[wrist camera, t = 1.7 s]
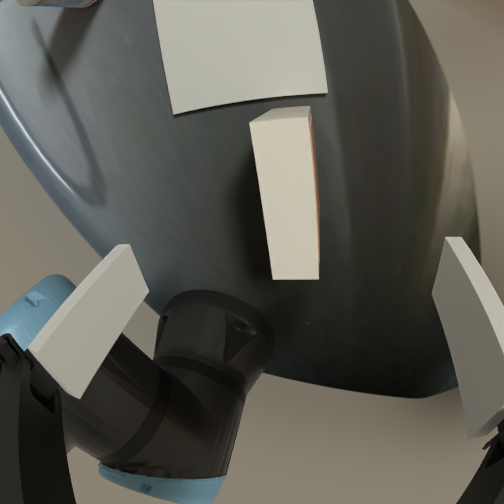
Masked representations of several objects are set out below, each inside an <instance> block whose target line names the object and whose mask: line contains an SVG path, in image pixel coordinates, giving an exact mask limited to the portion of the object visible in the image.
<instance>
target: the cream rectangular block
mask: <svg viewBox="0 0 504 504" xmlns="http://www.w3.org/2000/svg"><path fill="white" fill-rule="evenodd" d="M249 124H250V130H251V136H252V143H253V149H254V155H255V162H256V168H257V174H258V181H259V187H260V194H261V201H262V207H263V214H264V221H265V228H266V234H267V241H268V248H269V255H270V262H271V269H272V277H273V280H280V279H319V260H320V207H319V191H318V177H317V164H316V152H315V142H314V132H313V122H312V116H311V109H310V106H299V107H287V108H276V109H272V110H270V111H268V112H267V113H265V114H263V115H261V116H260V117H258V118H256V119H255V120H253V121H251V122H250V123H249Z"/></svg>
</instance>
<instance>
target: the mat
mask: <svg viewBox="0 0 504 504" xmlns="http://www.w3.org/2000/svg"><path fill="white" fill-rule="evenodd" d="M153 3H154V10H155V16H156V23H157V29H158V35H159V41H160V47H161V52H162V58H163V63H164V69H165V74H166V79H167V85H168V90H169V95H170V100H171V105H172V109H173V114H178V113H182V112H187V111H191V110H196V109H201V108H206V107H211V106H216V105H222V104H227V103H233V102H240V101H246V100H254V99H261V98H270V97H279V96H289V95H302V94H318V93H328V91H327V83H326V75H325V68H324V61H323V55H322V48H321V42H320V36H319V31H318V25H317V20H316V15H315V10H314V5H313V0H153Z"/></svg>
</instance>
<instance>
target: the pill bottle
mask: <svg viewBox="0 0 504 504" xmlns="http://www.w3.org/2000/svg"><path fill="white" fill-rule="evenodd" d="M16 1H17V3H18V4H20V5H22V6H52V7H69V8H85V7H88V6H90V5H91V4H93V3H94V2H96V1H97V0H16Z"/></svg>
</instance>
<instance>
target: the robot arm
mask: <svg viewBox="0 0 504 504" xmlns="http://www.w3.org/2000/svg"><path fill="white" fill-rule="evenodd" d="M148 292H149V290H148V287H147V285H146V283H145V280H144V278H143V276H142V273H141V271H140V269H139V266H138V264H137V261H136V259H135V256H134V254H133V251H132V249H131V246H130V244H120V245H117V246H116V247H115V248H114V249H113V250H112V251H111V252H110V253H109V254H108V255H107V256H106V257H105V258H104V259H103V260H102V261H101V262H100V263H99V264H98V265H97V266H96V267H95V268H94V269H93V270H92V272H91V273H90V274H89V275H88V276H87V277H86V278H85V279H84V280H83V282H81V283H80V285H79V286H78V287H76V286H75V285H74V284H73V283H72V282H71V281H70V280H69V279H68V278H66V277H65V276H62V275H59V274H53V275H49V276H47V277H45V278H43V279H42V280H41V281H39V282H38V283H37V284H36V285H34V286H33V287H32V288H31V289H29V290H28V291H27V292H26V293H25V294H23V295H22V296H21V297H20V298H19V299H18V300H16V301H15V302H14V303H13V304H12V305H11V306H10V307H9V308H8V309H6V310H5V311H4V312H3V313H2V314H1V315H0V504H76V501H75V497H74V492H73V488H72V483H71V478H70V473H69V468H68V461H67V455H66V454H67V453H68V452H69V451H70V450H71V449H73V448H74V447H78V448H79V449H81V450H83V451H84V452H86V453H88V454H89V455H91V456H93V457H95V458H96V459H98V460H100V461H101V462H100V463H99V464H98V466H99V474H100V475H101V476H102V477H103V478H105V479H107V480H109V481H111V482H113V483H115V484H118V485H120V486H123V487H125V488H128V489H130V490H133V491H137V492H140V493H143V494H146V495H149V496H152V497H155V498H159V499H163V500H166V501H171V502H175V503H180V504H210V503H212V502H214V501H215V499H216V497H217V496H218V493H219V490H220V488H221V485H222V482H223V480H224V479H225V478H226V475H227V470H228V466H229V462H230V458H231V454H232V451H233V447H234V443H235V439H236V435H237V431H238V428H239V423H240V420H241V415H242V411H243V407H244V404H245V399H246V396H247V394H248V392H249V391H250V390H251V388H252V387H253V385H254V384H255V382H256V381H257V379H258V378H259V376H260V375H261V374H262V372H263V371H264V369H265V368H266V366H267V365H268V363H269V361H270V358H271V354H272V350H273V344H274V337H273V333H272V330H271V328H270V326H269V324H268V323H267V321H266V320H265V319H264V318H263V317H262V316H261V315H260V314H259V313H258V312H257V311H256V310H255V309H253V308H252V307H251V306H249V305H248V304H246V303H244V302H243V301H241V300H239V299H237V298H234V297H232V296H229V295H226V294H223V293H219V292H215V291H209V290H192V291H186V292H183V293H180V294H178V295H176V296H175V297H173V298H172V299H171V300H170V301H169V302H168V304H167V306H166V307H165V309H164V311H163V312H162V314H161V316H160V319H159V323H158V330H157V338H156V344H155V352H154V358H153V360H151V359H150V358H149V357H148V356H147V355H146V354H144V353H143V352H142V351H141V350H140V349H139V348H138V347H137V346H136V345H134V344H133V343H132V342H131V341H130V340H129V339H128V338H127V337H126V336H125V335H124V334H123V333H122V331H123V329H124V328H125V326H126V325H127V323H128V322H129V320H130V319H131V317H132V316H133V314H134V313H135V311H136V310H137V308H138V307H139V305H140V304H141V303H142V301H143V300H144V298H145V297H146V295H147V294H148ZM432 296H433V299H434V302H435V305H436V307H437V310H438V313H439V316H440V319H441V322H442V325H443V328H444V332H445V335H446V338H447V342H448V345H449V349H450V352H451V356H452V360H453V363H454V367H455V371H456V376H457V380H458V384H459V389H460V394H461V399H462V403H463V409H464V415H465V421H466V428H467V435H468V439H473V438H476V437H480V436H484V435H487V434H489V433H490V432H491V431H492V430H493V429H494V428H495V427H496V426H497V427H498V432H499V433H498V434H497V435H496V436H495V437H494V438H492V439H491V440H490V441H489V442H487V443H486V445H485V446H484V447H483V448H482V449H484V450H485V449H486V448H488V447H489V446H490V445H491V446H490V448H489V450H488V452H487V454H486V456H485V458H484V460H483V461H482V463H481V465H480V467H479V469H478V470H477V472H476V474H475V476H474V477H473V479H472V480H471V482H470V484H469V486H468V487H467V489H466V490H465V492H464V493H463V494H462V496H461V498H460V499H459V500H458V502H457V503H456V504H504V306H503V305H502V303H501V301H500V299H499V297H498V295H497V293H496V292H495V290H494V288H493V286H492V284H491V283H490V281H489V279H488V278H487V276H486V274H485V273H484V271H483V269H482V268H481V266H480V264H479V263H478V261H477V260H476V258H475V257H474V255H473V253H472V252H471V250H470V249H469V247H468V246H467V244H466V243H465V242H464V240H463V239H462V237H445V240H444V245H443V250H442V254H441V259H440V263H439V267H438V272H437V276H436V280H435V283H434V287H433V291H432Z"/></svg>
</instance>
